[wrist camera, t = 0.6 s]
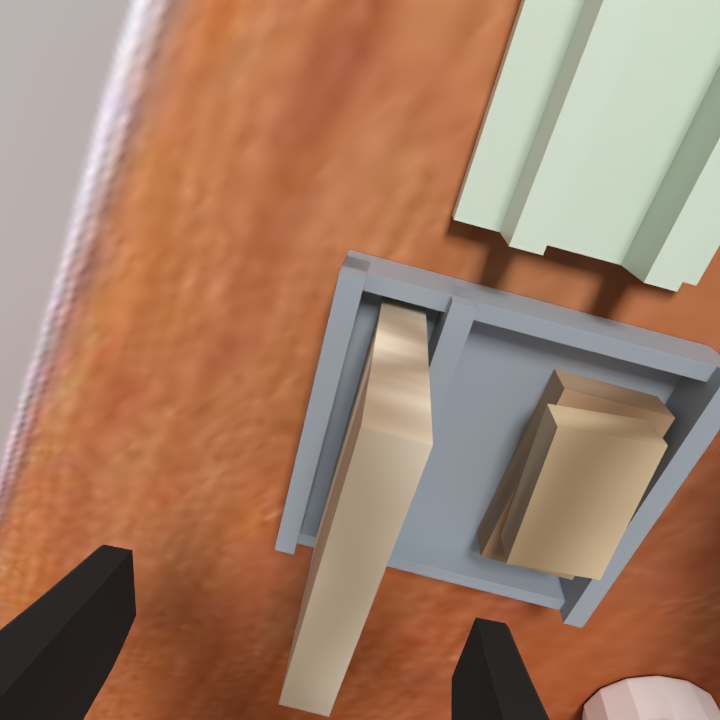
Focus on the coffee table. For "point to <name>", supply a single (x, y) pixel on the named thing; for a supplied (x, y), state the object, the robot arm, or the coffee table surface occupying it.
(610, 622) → the coffee table surface
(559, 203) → the stand
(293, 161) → the coffee table surface
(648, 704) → the white cup
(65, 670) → the robot arm
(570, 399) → the offcut lower
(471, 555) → the tray
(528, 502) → the offcut upper
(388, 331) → the birch sheet
